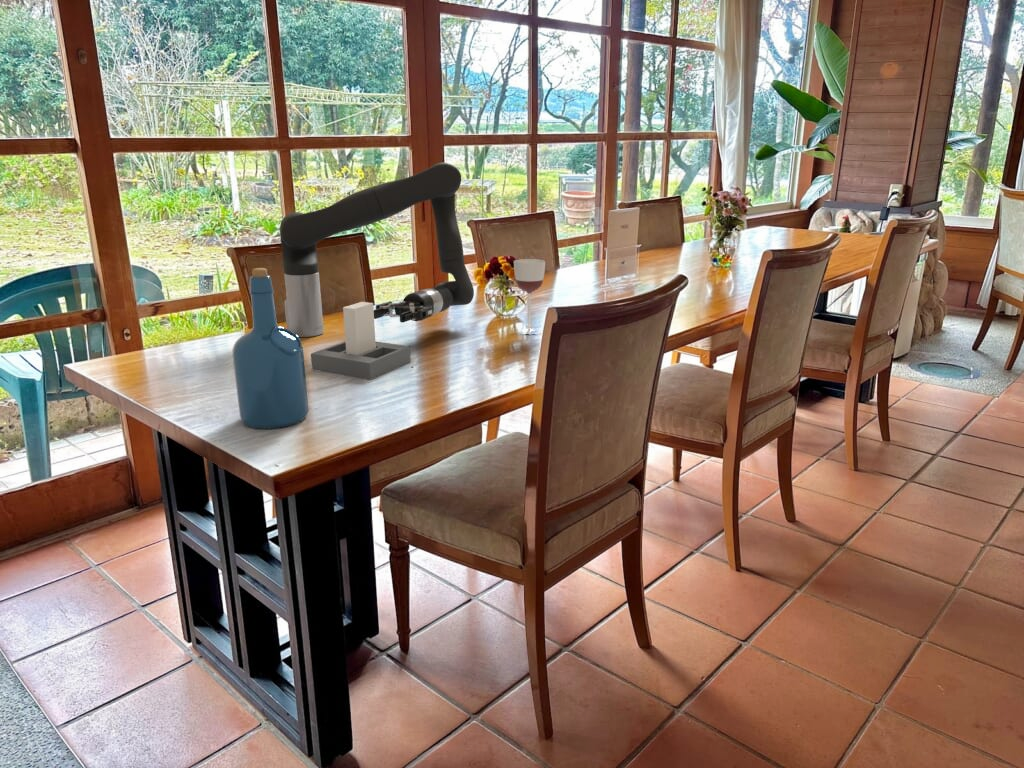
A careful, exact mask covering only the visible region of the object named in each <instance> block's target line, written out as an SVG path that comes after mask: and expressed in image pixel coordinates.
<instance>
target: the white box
mask: <svg viewBox="0 0 1024 768" xmlns="http://www.w3.org/2000/svg"><path fill="white" fill-rule="evenodd" d="M374 310H375V309H374V303H373V302H367V301H359V302H356V303H354V304H350V305H346V306H343V307H342V312H343V313H342V315H343V326H344V340H345V342H346V354H351V355H357V356H358V355H360V354H363V353H365V352H368V351H370V350H373V349H375V348H376V343H375V341H376V329H375V328H376V327H375V319H374Z"/></svg>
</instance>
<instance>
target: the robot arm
mask: <svg viewBox="0 0 1024 768" xmlns="http://www.w3.org/2000/svg"><path fill="white" fill-rule="evenodd" d="M461 185H462V173H461V171H460V170H459V169H458V167H457V166H455V165H453V164H452V163H450V162H439V163H435V164H434V165H432V166H430V167H429V168H426V169H423V170H422V171H420V172H418V173H416V174H413V175H411V176H408V177H405V178H400V179H397V180H392V181H388V182H384V183H380V184H376V185H373V186H371V187H367V188H365V189H362V190H359V191H356V192H353V193H352V194H350V195H347V196H346V197H343V198H342V199H340V200H338V201H336V202H335V203H333V204H331V205H329V206H327V207H324V208H321V209H318V210H317V209H316V210H314V211H309V212H305V213H303V212H298V211H294V212H290V213H288V214H287V215H285V216H284V217H283V218H282V219H281V222H280V225H279V234H280V236H279V237H280V245H281V246H280V247H281V255H282V263H283V264H282V265H283V275H284V282H285V283H284V285H285V286H284V287H285V293H286V299H284V301H283V302H284V315H285V325H286V329H288V330H290V331H291V332H293V333H295V334H296V335H297V336H298V337H299V338H308V337H309V338H310V337H316V336H319V335H322V334H323V333H324V332H325V331H324V320H323V308H322V307H323V305H322V295H321V283H320V271H319V269H320V268H319V260H318V250H317V243H319V242H321V241H323V240H325V239H328V238H329V237H332V236H335V235H337V234H339V233H344V232H348V231H352V230H355V229H358V228H359V229H360V228H362V227H365V226H369V225H372V224H376V223H378V222H381V221H383V220H386V219H389V218H391V217H394V216H395V215H397V214H399V213H401V212H404V211H405V210H407V209H409V208H411V207H413V206H415V205H417V204H420V203H422V202H425V201H430V203H431V208H432V211H433V217H434V224H435V231H436V232H435V233H436V242H437V243H436V244H437V251H438V252H437V253H438V258H439V261H438V262H439V268H440V270H441V272H443V273H445V274H449V275H450V274H451V275H452V276H453V279H454V280H452V281H451V280H450V281H443V282H440V283H438V284H437V285H435V286H433V287H430V288H424V289H420V290H417V291H414V292H411V293H407V295H405V297H404V298H403V300H402V301H398V302H393V301H388V302H383V303H379V304H376V305H375V309H374V320H376V319H380V318H384V317H389V318H398V317H399V322H400V323H403V324H404V323H405V322H409V321H413V322H419V321H420V322H421V321H423V320H427V319H428V318H431V317H433V316H435V315H437V314H438V313H441V312H444V311H446V310H448V309H449V308H450V307H452V306H453V307H454V306H465V305H466V306H467V305H469V304H471V302H473V299H474V295H475V293H474V292H475V290H474V286H473V283H472V280H471V278H470V276H469V273H468V270H467V268H466V267H467V266H466V265H465V256H464V248H463V241H462V235H461V232H460V228H459V225H458V221H457V220H458V219H457V215H456V193H457V191H458V190H459V188H460V187H461ZM393 311H394V312H393Z"/></svg>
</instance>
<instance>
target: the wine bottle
mask: <svg viewBox="0 0 1024 768" xmlns="http://www.w3.org/2000/svg"><path fill="white" fill-rule="evenodd" d="M251 274H252V275H251V276H250V277H249V294H250V297H251V299H250V300H251V310H252V311H251V313H252V314H251V315H252V328H251V330H250V331H249V332H247V333H245V334H244V335H241V337H239V338H238V339H237V340H236V341H235V343H234V344H233V347H232V350H231V353H232V363H233V371H234V378H235V386H236V395H237V405H238V411H239V416H240V417H239V418H240V421H241V422H242V424H243V425H244V426H247V427H250V428H253V429H271V430H272V429H278V428H285V427H290V426H292V425H295V424H297V423H300V422H302V421H303V420H304V419H305V418H306V417H307V416H308V414H309V409H310V408H309V401H308V389H307V380H306V379H307V377H306V367H305V366H306V365H305V356H304V354H305V353H304V348H303V343H302V340H301V339H300V338H301V337H298V336H297V335H296V334H295V333H293V332H291V331H290V330H288V329H287V327H283V326H278V322H277V316H276V315H277V314H276V313H277V312H276V306H275V300H274V293H275V290H274V287H273V282H272V277H271V275H269V274H268V269H267V268H264V267H256V268H253V269H251Z"/></svg>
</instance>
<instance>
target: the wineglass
mask: <svg viewBox="0 0 1024 768" xmlns="http://www.w3.org/2000/svg"><path fill="white" fill-rule="evenodd" d="M545 269H546V261H545V260H543V259H538V258H521V259H516V260H513V270H514V277H515V283H516V285H517V287H518V288H519V289H520V290H522V291H524V292H526V293H527V328H523V329H524V330H522V331H523V332H531V331H535V330H533V329H534V328H531V323H532V321H531V319H532V317H531V316H532V315H531V310H532V308H531V307H532V306H531V305H532V303H531V302H532V299H531V297H532V295H531V294H532V293H533V292H535V291H537V290H538V289H540V288H541V287H542V285H543V282H544V278H545V271H546V270H545Z"/></svg>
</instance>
